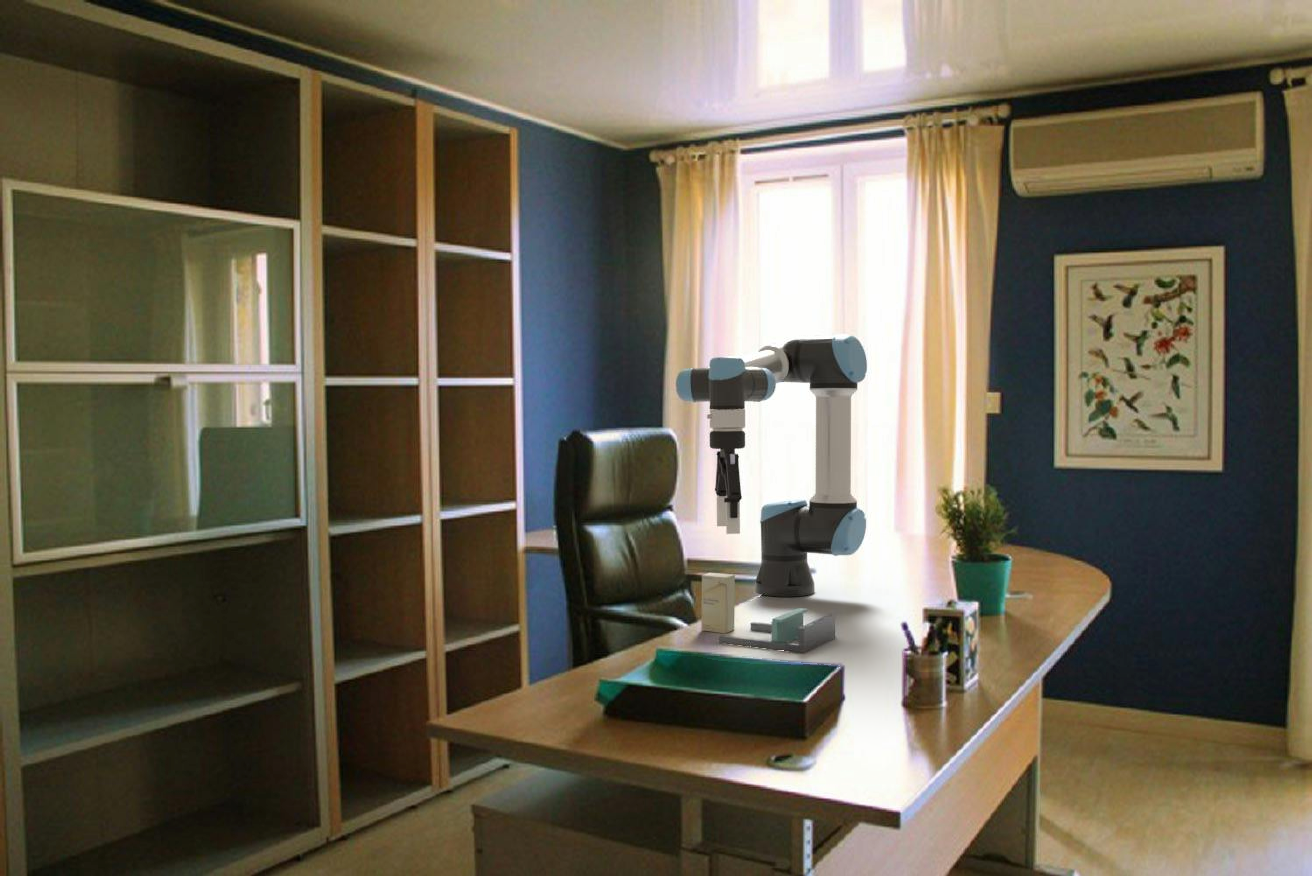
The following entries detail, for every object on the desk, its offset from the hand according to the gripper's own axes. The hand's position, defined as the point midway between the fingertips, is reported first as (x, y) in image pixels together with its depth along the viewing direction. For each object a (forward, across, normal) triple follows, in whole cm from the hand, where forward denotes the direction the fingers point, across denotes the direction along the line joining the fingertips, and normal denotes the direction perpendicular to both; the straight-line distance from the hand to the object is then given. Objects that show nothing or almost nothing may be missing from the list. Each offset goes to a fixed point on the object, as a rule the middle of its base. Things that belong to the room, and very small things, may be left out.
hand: (728, 529), depth 239 cm
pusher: (+22, +10, +11) cm, 27 cm away
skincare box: (+22, -4, -2) cm, 23 cm away
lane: (+22, +8, +8) cm, 25 cm away
